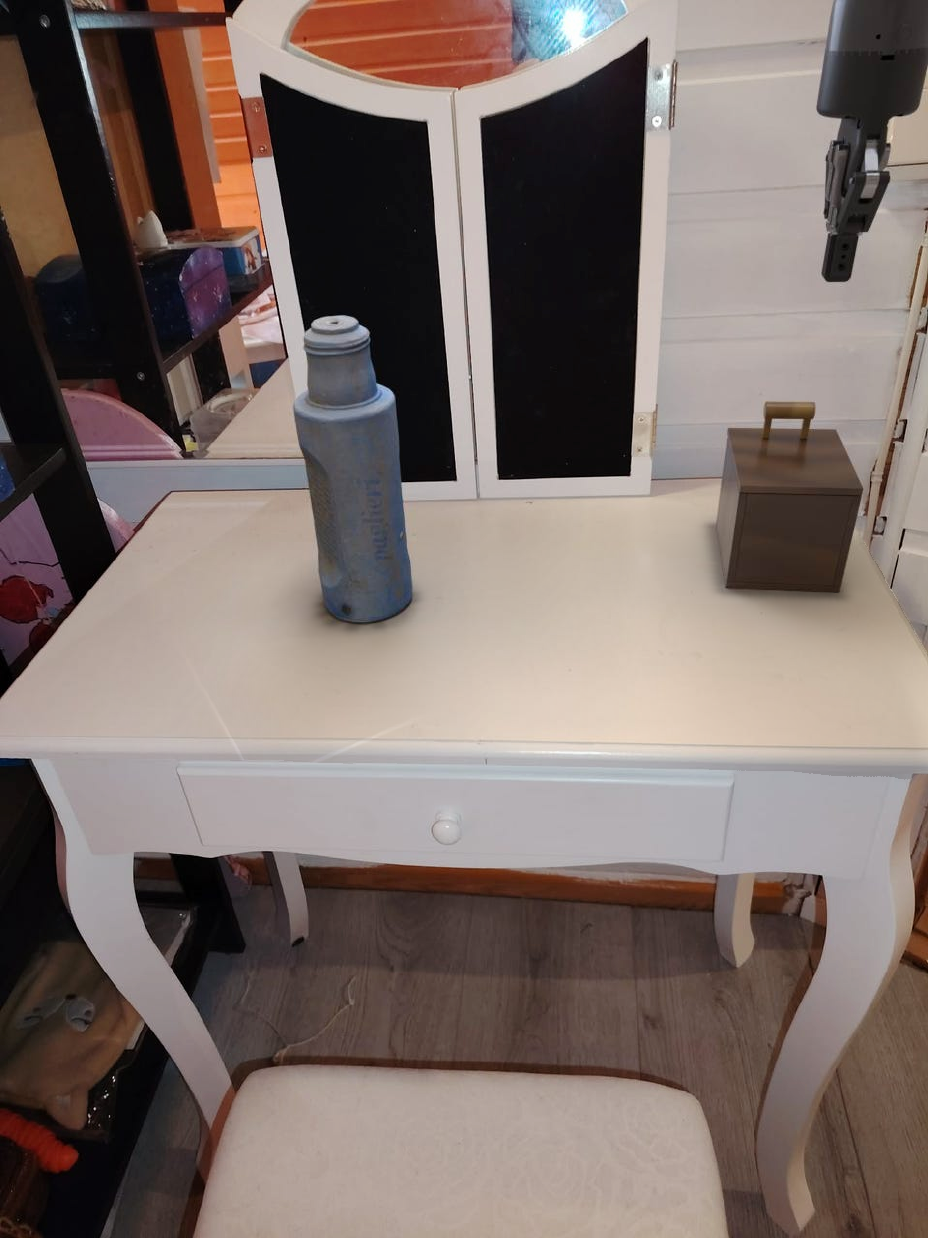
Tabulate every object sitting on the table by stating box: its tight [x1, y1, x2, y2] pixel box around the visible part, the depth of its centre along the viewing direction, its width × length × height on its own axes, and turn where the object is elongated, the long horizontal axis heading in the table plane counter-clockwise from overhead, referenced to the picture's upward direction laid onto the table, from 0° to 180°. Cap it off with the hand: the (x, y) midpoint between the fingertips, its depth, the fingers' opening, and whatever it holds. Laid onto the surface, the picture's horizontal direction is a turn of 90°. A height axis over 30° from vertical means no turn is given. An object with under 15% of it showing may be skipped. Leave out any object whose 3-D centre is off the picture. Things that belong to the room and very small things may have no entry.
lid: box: [726, 401, 864, 496], centre depth 91 cm, size 14×12×5 cm
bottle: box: [292, 315, 413, 623], centre depth 88 cm, size 10×10×30 cm
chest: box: [715, 437, 863, 593], centre depth 96 cm, size 14×12×11 cm
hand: (835, 279), depth 77 cm, fingers closed
